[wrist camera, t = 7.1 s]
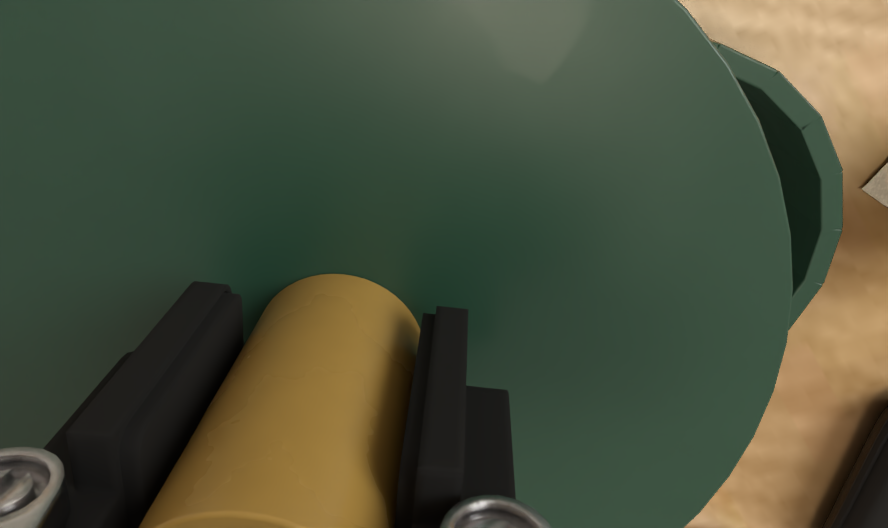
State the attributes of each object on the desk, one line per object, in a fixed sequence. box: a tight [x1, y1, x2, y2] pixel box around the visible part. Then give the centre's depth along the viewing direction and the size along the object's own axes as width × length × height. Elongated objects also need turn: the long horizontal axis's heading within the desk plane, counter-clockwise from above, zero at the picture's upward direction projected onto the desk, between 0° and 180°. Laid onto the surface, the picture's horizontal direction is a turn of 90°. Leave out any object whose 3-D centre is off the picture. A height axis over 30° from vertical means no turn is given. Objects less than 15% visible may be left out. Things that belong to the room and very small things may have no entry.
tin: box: [709, 38, 843, 330], centre depth 30 cm, size 15×15×8 cm
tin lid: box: [0, 0, 793, 528], centre depth 10 cm, size 16×16×7 cm
